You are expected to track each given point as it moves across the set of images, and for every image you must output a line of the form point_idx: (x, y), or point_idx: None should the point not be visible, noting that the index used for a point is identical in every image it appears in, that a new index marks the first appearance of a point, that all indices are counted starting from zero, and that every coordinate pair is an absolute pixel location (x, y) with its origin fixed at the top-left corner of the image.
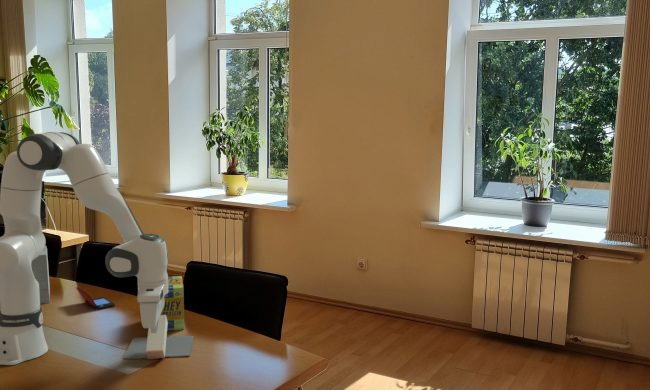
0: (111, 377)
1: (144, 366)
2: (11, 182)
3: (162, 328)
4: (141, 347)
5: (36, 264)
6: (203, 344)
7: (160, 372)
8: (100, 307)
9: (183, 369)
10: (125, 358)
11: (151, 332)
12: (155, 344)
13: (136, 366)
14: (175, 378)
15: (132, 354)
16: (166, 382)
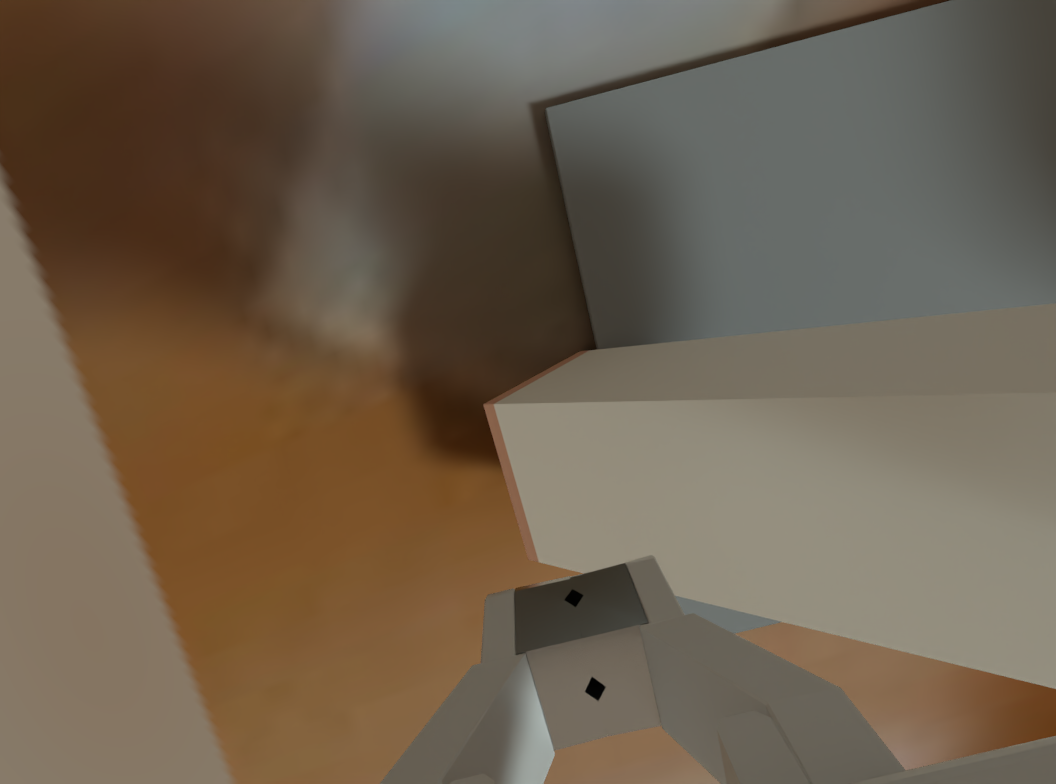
0: (152, 183)
1: (433, 380)
2: None
3: (810, 600)
4: (809, 188)
5: None
6: (895, 657)
7: (355, 544)
8: None
9: (441, 673)
10: (551, 131)
11: (490, 603)
12: (573, 495)
13: (419, 311)
14: (289, 674)
15: (635, 169)
16: (212, 642)
